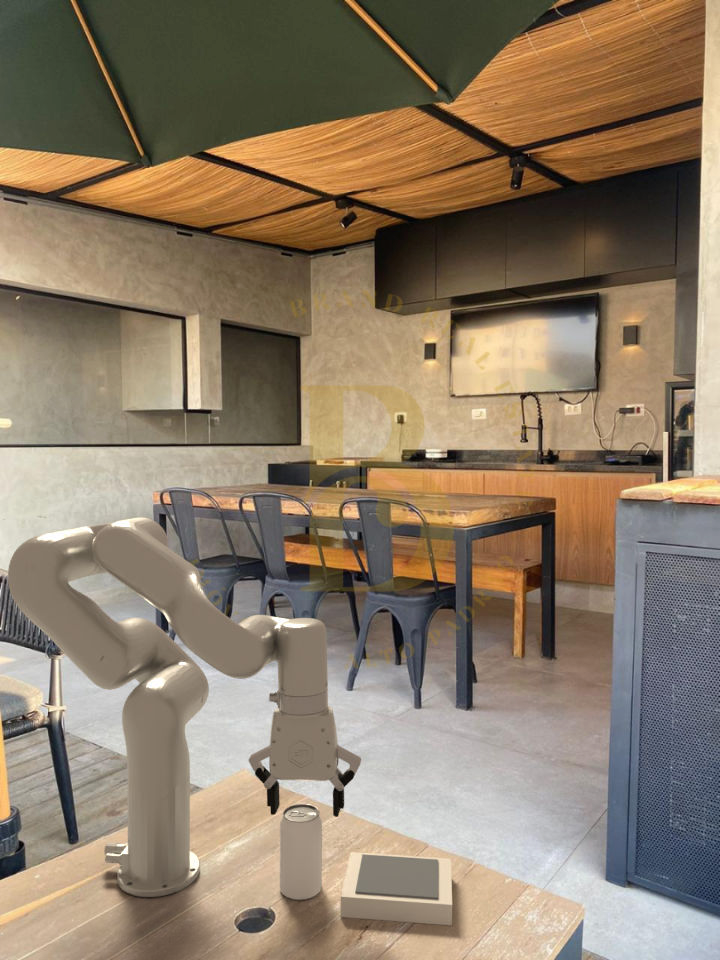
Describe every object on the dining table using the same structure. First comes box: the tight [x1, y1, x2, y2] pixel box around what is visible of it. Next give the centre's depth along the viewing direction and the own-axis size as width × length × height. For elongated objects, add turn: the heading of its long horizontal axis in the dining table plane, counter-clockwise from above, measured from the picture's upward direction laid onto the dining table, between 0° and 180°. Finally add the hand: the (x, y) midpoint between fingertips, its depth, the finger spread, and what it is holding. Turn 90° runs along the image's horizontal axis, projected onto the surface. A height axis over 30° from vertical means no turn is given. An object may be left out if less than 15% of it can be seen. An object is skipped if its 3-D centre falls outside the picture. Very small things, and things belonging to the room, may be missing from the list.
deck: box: [340, 851, 453, 926], centre depth 111 cm, size 16×12×3 cm
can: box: [279, 803, 323, 902], centre depth 112 cm, size 6×6×12 cm
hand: (306, 811), depth 112 cm, fingers open, 9 cm apart
